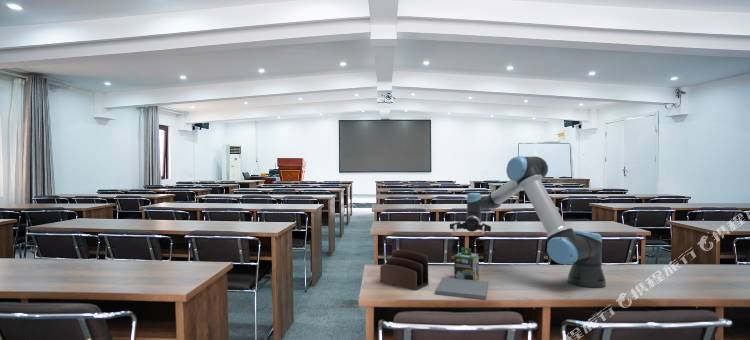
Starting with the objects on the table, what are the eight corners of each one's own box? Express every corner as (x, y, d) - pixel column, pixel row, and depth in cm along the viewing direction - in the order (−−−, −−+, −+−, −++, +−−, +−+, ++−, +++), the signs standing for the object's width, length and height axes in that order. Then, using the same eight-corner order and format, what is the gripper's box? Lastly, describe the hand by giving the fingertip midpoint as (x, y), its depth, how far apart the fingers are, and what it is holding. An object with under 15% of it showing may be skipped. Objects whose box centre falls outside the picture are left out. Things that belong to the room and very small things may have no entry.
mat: (488, 285, 177) (488, 281, 177) (485, 299, 158) (485, 295, 158) (442, 280, 184) (442, 277, 184) (435, 294, 165) (435, 290, 165)
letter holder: (392, 277, 190) (393, 247, 189) (428, 285, 177) (429, 253, 177) (379, 281, 182) (379, 250, 182) (416, 290, 169) (416, 257, 169)
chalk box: (479, 278, 188) (479, 246, 188) (473, 283, 180) (473, 250, 180) (460, 275, 193) (460, 244, 192) (453, 280, 185) (453, 248, 184)
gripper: (496, 232, 212) (495, 239, 191) (448, 229, 219) (442, 236, 199) (496, 217, 211) (495, 223, 191) (448, 215, 219) (442, 221, 199)
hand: (468, 230), depth 195 cm, fingers open, 13 cm apart
